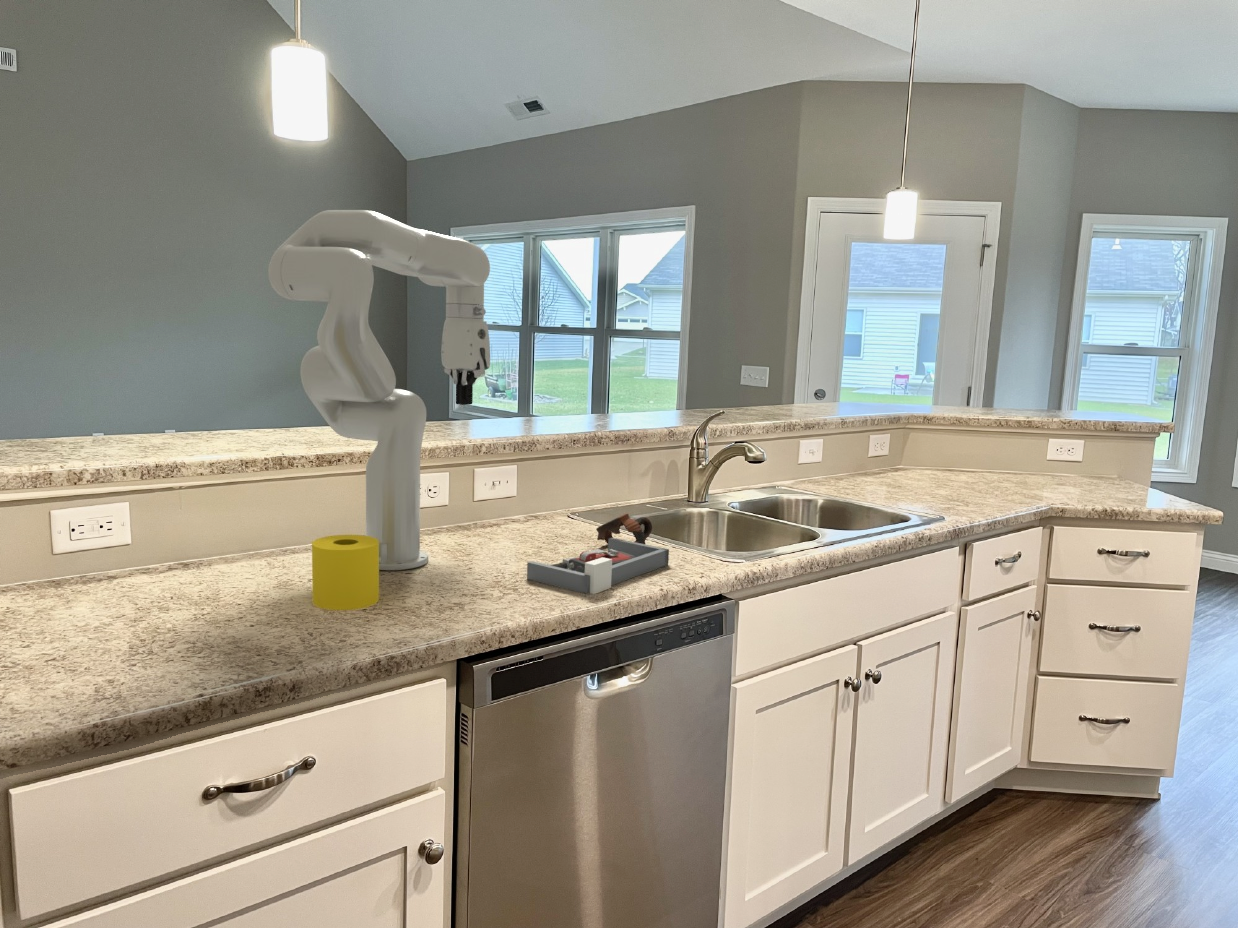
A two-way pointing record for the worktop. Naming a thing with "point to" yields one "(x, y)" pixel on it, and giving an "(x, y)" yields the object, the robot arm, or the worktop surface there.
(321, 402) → the robot arm
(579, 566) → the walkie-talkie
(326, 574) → the yellow toilet paper roll
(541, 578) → the cradle
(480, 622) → the worktop surface
